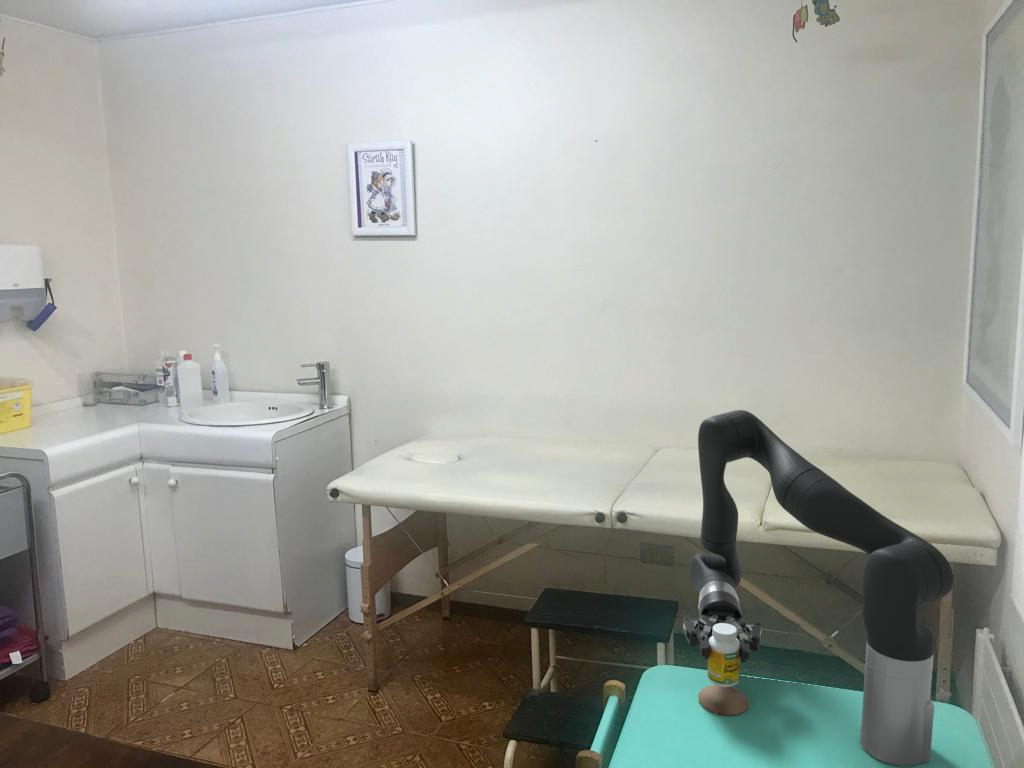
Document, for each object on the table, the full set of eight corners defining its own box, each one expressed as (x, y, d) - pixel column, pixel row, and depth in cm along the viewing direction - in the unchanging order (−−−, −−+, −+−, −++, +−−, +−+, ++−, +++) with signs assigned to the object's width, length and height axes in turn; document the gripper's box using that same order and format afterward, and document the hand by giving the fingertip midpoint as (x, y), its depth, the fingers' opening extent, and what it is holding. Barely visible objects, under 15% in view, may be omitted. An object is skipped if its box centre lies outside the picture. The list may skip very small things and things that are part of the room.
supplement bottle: (722, 667, 143) (723, 617, 141) (746, 681, 139) (748, 630, 137) (700, 677, 140) (701, 626, 138) (724, 692, 136) (726, 639, 134)
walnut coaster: (746, 690, 143) (746, 686, 143) (751, 718, 135) (751, 714, 135) (697, 686, 145) (697, 682, 145) (699, 713, 137) (699, 710, 137)
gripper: (680, 587, 153) (682, 631, 136) (760, 592, 150) (771, 638, 134) (679, 623, 154) (681, 672, 138) (758, 629, 152) (769, 679, 135)
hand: (725, 655), depth 136 cm, fingers closed on supplement bottle, 5 cm apart
